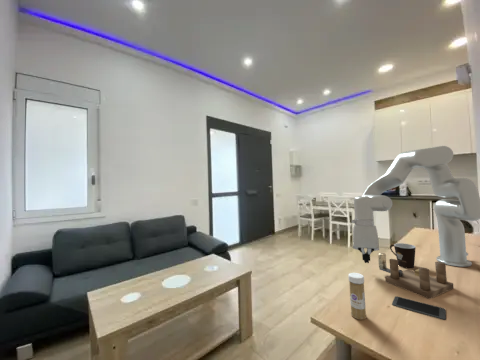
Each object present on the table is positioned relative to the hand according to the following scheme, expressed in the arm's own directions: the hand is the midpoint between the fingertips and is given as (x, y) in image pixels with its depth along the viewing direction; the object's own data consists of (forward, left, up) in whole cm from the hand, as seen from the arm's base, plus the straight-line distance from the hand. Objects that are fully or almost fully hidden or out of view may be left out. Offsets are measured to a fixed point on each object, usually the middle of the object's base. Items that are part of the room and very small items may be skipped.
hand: (366, 261), depth 101 cm
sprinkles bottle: (+30, +20, -6) cm, 36 cm away
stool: (-8, +17, -6) cm, 19 cm away
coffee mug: (-25, +2, -6) cm, 26 cm away
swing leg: (-6, +7, -3) cm, 10 cm away
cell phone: (+9, +26, -6) cm, 28 cm away
